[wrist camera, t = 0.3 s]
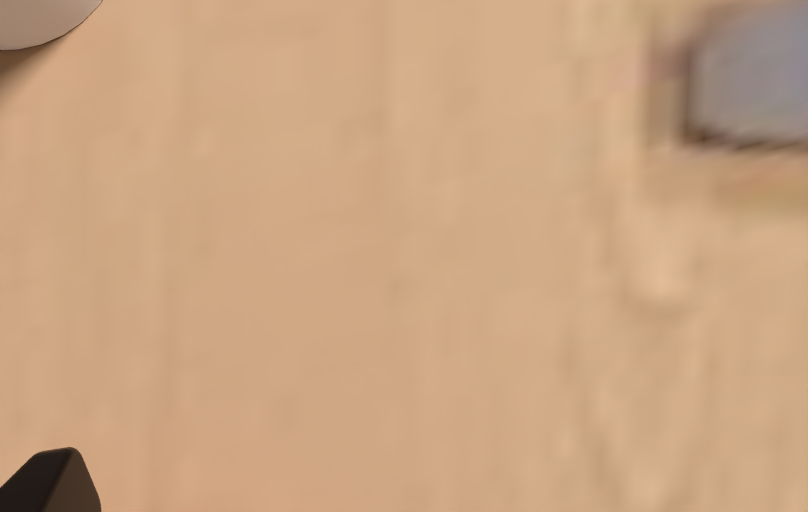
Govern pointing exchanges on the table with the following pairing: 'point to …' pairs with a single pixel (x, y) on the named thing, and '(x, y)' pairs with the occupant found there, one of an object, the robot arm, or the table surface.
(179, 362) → the table surface
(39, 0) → the cylindrical container
